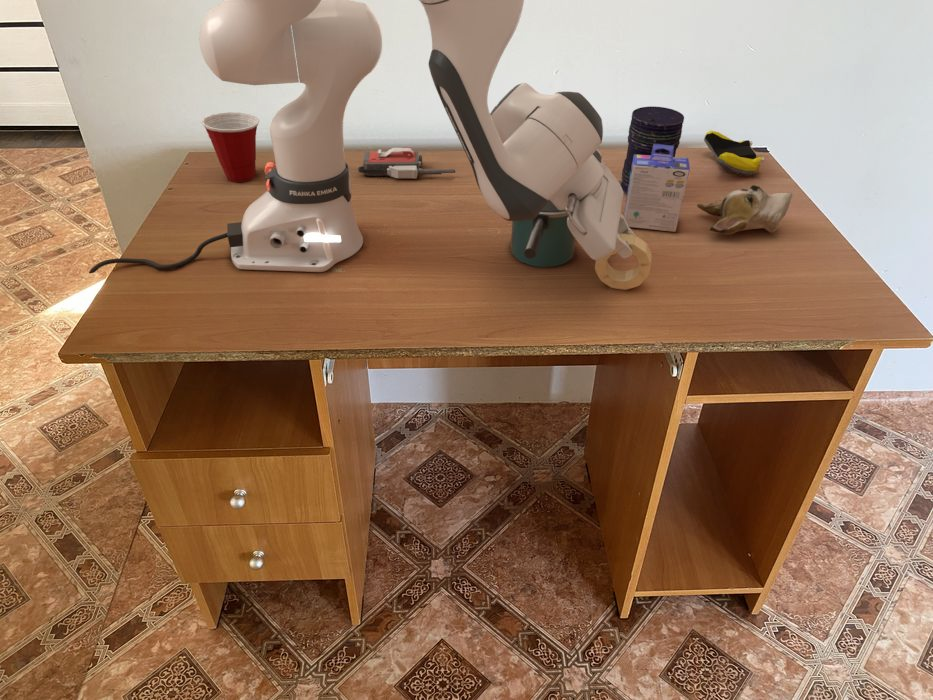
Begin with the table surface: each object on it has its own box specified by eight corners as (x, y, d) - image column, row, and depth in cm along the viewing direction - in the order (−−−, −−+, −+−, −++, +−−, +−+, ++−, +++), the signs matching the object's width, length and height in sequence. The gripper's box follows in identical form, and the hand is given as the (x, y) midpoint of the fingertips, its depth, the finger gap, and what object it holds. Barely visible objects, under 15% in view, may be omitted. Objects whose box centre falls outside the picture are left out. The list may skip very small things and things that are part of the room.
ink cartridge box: (676, 219, 128) (692, 144, 119) (677, 233, 124) (694, 157, 115) (622, 213, 130) (635, 139, 121) (622, 227, 126) (634, 152, 117)
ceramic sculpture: (805, 198, 116) (715, 200, 117) (793, 243, 121) (706, 245, 122) (785, 171, 124) (701, 174, 125) (774, 215, 130) (693, 217, 131)
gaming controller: (715, 181, 141) (764, 182, 141) (722, 156, 138) (772, 156, 138) (698, 152, 153) (742, 152, 153) (703, 128, 149) (749, 128, 149)
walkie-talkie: (357, 181, 140) (455, 179, 141) (355, 160, 137) (455, 159, 138) (360, 163, 147) (454, 162, 148) (359, 143, 144) (453, 142, 145)
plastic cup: (278, 177, 141) (268, 120, 133) (229, 192, 135) (215, 133, 128) (254, 161, 147) (243, 105, 140) (206, 174, 142) (192, 117, 134)
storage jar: (629, 174, 144) (642, 102, 134) (675, 185, 140) (691, 112, 130) (612, 192, 137) (623, 118, 127) (660, 204, 133) (675, 129, 124)
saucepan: (515, 230, 125) (518, 178, 118) (579, 238, 123) (586, 186, 116) (490, 296, 108) (492, 240, 102) (563, 306, 106) (570, 250, 100)
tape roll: (592, 285, 111) (599, 239, 105) (594, 275, 113) (600, 230, 108) (645, 292, 109) (654, 247, 104) (645, 282, 111) (655, 237, 106)
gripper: (582, 200, 93) (643, 271, 97) (597, 143, 108) (649, 206, 112) (547, 225, 96) (607, 293, 101) (566, 166, 112) (617, 227, 116)
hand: (629, 247), depth 107 cm, fingers closed on tape roll, 3 cm apart
